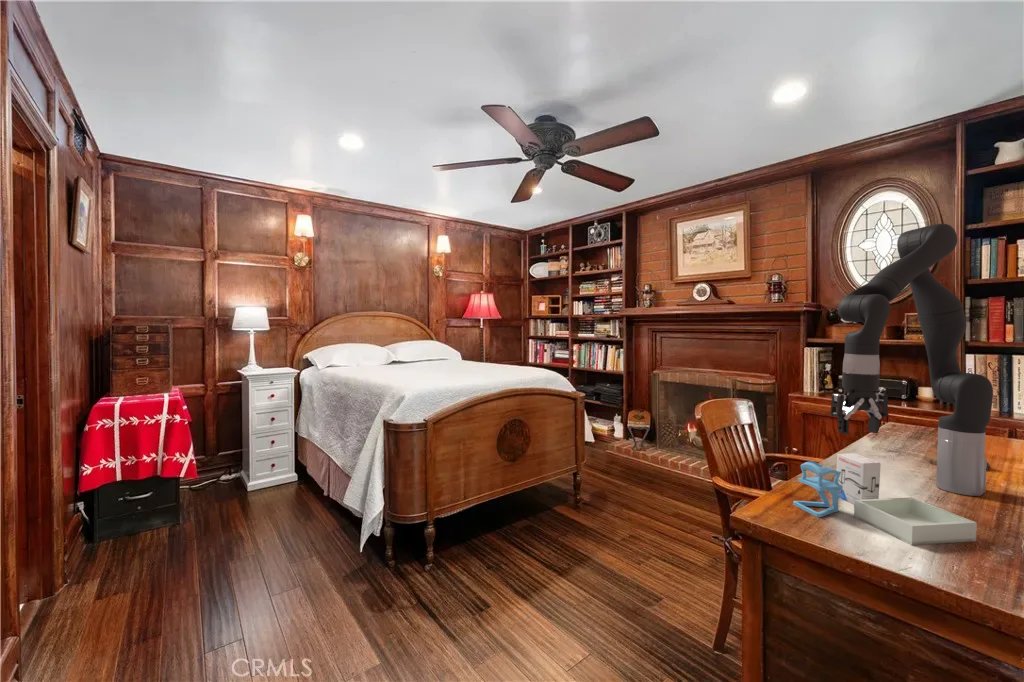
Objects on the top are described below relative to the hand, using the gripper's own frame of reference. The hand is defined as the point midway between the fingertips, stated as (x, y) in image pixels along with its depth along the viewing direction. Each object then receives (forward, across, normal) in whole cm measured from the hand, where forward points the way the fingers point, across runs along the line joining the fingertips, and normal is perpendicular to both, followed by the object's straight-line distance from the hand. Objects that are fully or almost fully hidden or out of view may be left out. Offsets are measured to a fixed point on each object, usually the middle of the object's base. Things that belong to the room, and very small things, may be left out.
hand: (858, 433), depth 113 cm
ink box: (+18, 0, 0) cm, 18 cm away
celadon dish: (+18, +1, +15) cm, 24 cm away
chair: (+18, +14, +4) cm, 23 cm away
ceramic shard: (+18, -60, -26) cm, 68 cm away
